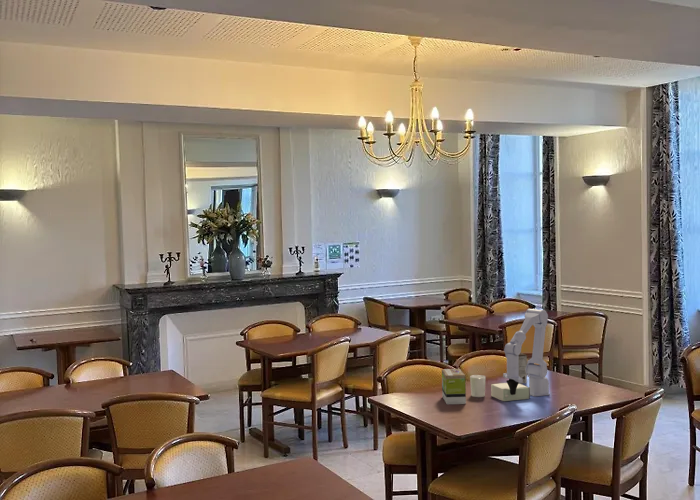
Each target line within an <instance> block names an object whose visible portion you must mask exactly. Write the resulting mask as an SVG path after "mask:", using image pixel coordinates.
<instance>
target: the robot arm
mask: <svg viewBox="0 0 700 500" xmlns="http://www.w3.org/2000/svg"><path fill="white" fill-rule="evenodd" d="M548 318H549V314H548V313H547V311H546V310H545V309H536V308H534V309H533V308H528V309H526V311H525V313H524V321H523V322H522V325H521V327H520V328H519V330H517V331H516V332H515V333H514V335H513V336H512V338H511V339H510V341H509V342H507V343H506V344H505V346H504V348H503V351H504V354H505V358H506V372H505V373H504V372H503V374H502V377H503V378H504V379H508V380H506V382H505V383H507V384H508V386H509V389H510V394H511V395H515V394H516V388H517V386H518V384H519V383H523V379H522V378H520V377H519V359H518V355H519V354H520V353H522V346H523V344H524V342H525V341H526V339H527V335H526V334H527V333H528V332H529V330H530V329H531V328H532V326H533V327H534V336H533V345H532V352H531V353H532V354H531V358H529V359H528V360H527V366H526V369H525V370H526V374H527V378H528V387H530V396H533V397H542V396H550V394H551V393H550V382H549V379H548V377H547V375H548V367H547V366H548V363H547V362H546V361H545V360H544V359H543V357H544V350H545V349H544V347H545V340H546V339H545V337H546V330H547V329H546V328H547V326H548Z"/></svg>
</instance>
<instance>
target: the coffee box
mask: <svg viewBox="0 0 700 500" xmlns="http://www.w3.org/2000/svg"><path fill="white" fill-rule="evenodd" d="M518 359H519V377H520V378H522V379H523V383H524V384H528V375H527V374H526V370H525V369H526V366H527V362H528V360H527V359H528V355H527V354H525V353H523V352H521V353H520V354H519V355H518ZM523 383H519V384H521V385H524V384H523Z"/></svg>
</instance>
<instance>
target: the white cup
mask: <svg viewBox="0 0 700 500" xmlns="http://www.w3.org/2000/svg"><path fill="white" fill-rule="evenodd" d="M469 381H470V383H469V384H470V391H471V397H474V398H484V397H485V395H486V394H485V393H486V375H483V374H472V375H470V376H469Z"/></svg>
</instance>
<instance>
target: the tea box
mask: <svg viewBox="0 0 700 500" xmlns="http://www.w3.org/2000/svg"><path fill="white" fill-rule="evenodd" d="M441 389H442V390H441V392H442V395H441V396H442V398H443V400H444V403H446V405H466V404H467V390H466V374H465V373H464V372H463V371H462V369H461V368H444V369H443V368H442V369H441Z"/></svg>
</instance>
